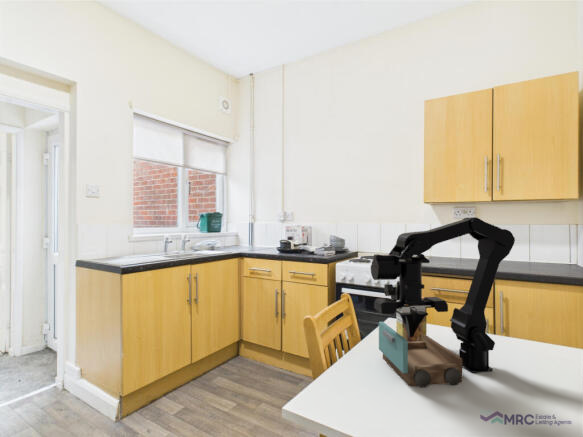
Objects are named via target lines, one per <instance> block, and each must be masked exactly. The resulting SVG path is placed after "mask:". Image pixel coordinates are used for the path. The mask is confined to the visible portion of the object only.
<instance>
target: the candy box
mask: <svg viewBox="0 0 583 437" xmlns="http://www.w3.org/2000/svg"><path fill="white" fill-rule="evenodd" d="M424 298H425V296H422V299H424ZM395 302H399V300H396V301H395ZM427 310H428V308H425V312H427ZM395 313H396V327H395V328H396V330H395V331H396V332H397V333H398V334H400V335H401V336H402V337H404V338H405V339H406V340H408V342H414V341H423V336H427V316H428V315H427V316H425V317H424V318H423V320H422V321H421V323H420V324H419V326H418V328H417V330H416V332H415V334H414V336H413V337H409V336H408V334H407V331H406V328H405V325H404V322H403V320H402V318H401V316H400V314H398V313H397V312H395ZM427 313H428V312H427Z"/></svg>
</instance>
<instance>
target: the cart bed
mask: <svg viewBox="0 0 583 437" xmlns="http://www.w3.org/2000/svg"><path fill="white" fill-rule="evenodd" d="M382 359H383V361H385V362H386V363H387V365H388V366H389V367H390V368H391V369H392V370H393V371H394V372H395V373H396V374H397V375H398V376H399V377H400V378H401V379H402V380H403V382H405V383H406V384H407V385H408V386H409V387H419V388H421V389H423V388H427V387H428V386H433V385H450V386H458V384H461V383H463V366H462V358H460V357H459V355H457V354H456V353H454V352H453V351H451V350H450V349H449V348H447V347H445V346H444V345H442V344H441V343H439V342H437V341H436V340H434V339H433V338H431V337H429V336H428V335H426V336H423V341H414V342H408V373H402V372H401V371H400V370H399V369H398V368H397V367H396V366H395V365H394V364H393V363H392V362H391V361H390V360H389V359H388V358H387V357H386V356H385V355H384V354H383V353H382Z"/></svg>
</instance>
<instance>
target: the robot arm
mask: <svg viewBox="0 0 583 437" xmlns="http://www.w3.org/2000/svg"><path fill="white" fill-rule="evenodd" d="M466 235H469V236H470V237H471V238H472V239H474V240H476V241H477V249H478V250H477V251H478V256H479V257H478V258H479V259H478V263H477V264H476V268H475V271H474V274H473V278H472V281H471V284H470V286H469V290H468V293H467V296H466V299H465V303H464V304H463V306H461V307H460V308H457V307H454V309H453V312H452V316H451V318H450V319H449V322H451V323H450V328H451V330H452V332H453V333H454V334H455V336H456V339H457V340H458V341H460V348H459V349H458V351H459V352H458V353H459V354H458V356H459V357H460V358H462V368H465V369H466V370H468V371H469V372H471V373H484V372H486V373H487V372H493V371H494V369H493V368H492V367H491V366H490V362H489V361H490V360H489V359H490V354H489V352H490V351H493V350H494V348H495V344H496V343H495V340H493V339H492V338H491V337H490V336H489V335H488V334H487V332H486V331H487V319H486V315H485V311H486V310H485V309H486V307H487V304H488V301H489V298H490V294H491V291H492V288H493V286H494V283H495V282H494V281H495V279H496V275H497V273H498V270H499V266H500V264H501V262H502V261H503V260H504V259H506V258H507V256H508V255H510V253H511V250H512V249H513V247H514V246H515V245H514V244H515V240H516V239H515V236H514V234H513V233H512V232H511V231H510V230H509V229H506V228H501V227H498V226H496V225H493V224H491V223H489V222H487V221H485V220H482V219H481V218H479V217H464V218H462V219H460V220H458V221H453V222H451V223H447V224H445V225H441V226H437V227H435V228H432V229H427V230H424V231H423V230H421V231H411V232H403V233H401V234H398V237H397V239H396V242H395V245H394V246H393V247H392V249H391V250H390V251H389V253H388V254H378V253H377V254H376V253H375V254H373V259H372V262H371V264H370V274H371V277H372V279H373V280H374V281H382V280H383V281H385V280H387V281H388V280H389V281H391V280H392V281H393V280H395V281H396V280H397V279H399V280H398V281H397V282H396V286H394V285H393V284H391V283H390V284H384V288H383V289H384V291H383V292H384V296H385V297H386V298H385V297H384V298H376V299H375V300H374V302H373V308H374V309H375V310H376V311H377V312H378V313H380V314H382V315H394V314H395V313H396V312H397V313H398V314H400V316H401V318H402V320H403V322H404V325H405V328H406V331H407V334H408V336H409V337H413V336H414V334H415V332H416V330H417V328H418V326H419V324H420V323H421V321H422V320H423V318H424V317H425V316H429V312H425V308H427V309H430V308H434V310H436V312H438V313H447V312H449V304H448V303H447V301H446V300H445V299H442V298H440V297H437V296H424V299H422V297H423V293H422V292H423V291H422V290H424V289H425V284H423V283H422V281H423V277H422V276H423V273H422V272H423V271H422V270H423V268H422V264H430V262H431V260H429V259H428V258H427V257H426V256H425V254H424V253H425V252H427V251H430V249H432V248H433V247H434V246H435V245H437V244H440V243H443V242H447V241H449V240H453V239H456V238H459V237H462V236H466ZM387 297H390V298H387ZM394 300H396V301H397V300H399V302H396V301H394Z"/></svg>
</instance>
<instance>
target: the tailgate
mask: <svg viewBox="0 0 583 437" xmlns="http://www.w3.org/2000/svg"><path fill="white" fill-rule="evenodd" d="M378 350H379V351H380V352H381V353H382V355H383V354H384V355H385V356H386V357H387V358H388V359H389V360H390V361H391V362H392V363H393V364H394V365H395V366H396V367H397V368H398V369H399V370H400V371H401V372H402V373H408V340H406V339H405V338H404V337H402V336H401V335H400V334H398V333H397V332H396V330H395V329H393V328H392V327H390V326H389V325H388V324H387V323H385V322H384V321H378Z"/></svg>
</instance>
